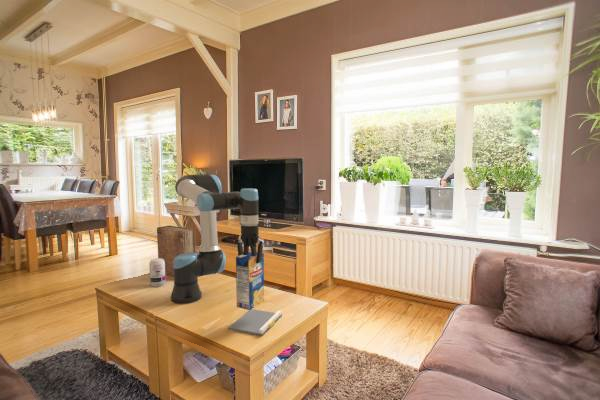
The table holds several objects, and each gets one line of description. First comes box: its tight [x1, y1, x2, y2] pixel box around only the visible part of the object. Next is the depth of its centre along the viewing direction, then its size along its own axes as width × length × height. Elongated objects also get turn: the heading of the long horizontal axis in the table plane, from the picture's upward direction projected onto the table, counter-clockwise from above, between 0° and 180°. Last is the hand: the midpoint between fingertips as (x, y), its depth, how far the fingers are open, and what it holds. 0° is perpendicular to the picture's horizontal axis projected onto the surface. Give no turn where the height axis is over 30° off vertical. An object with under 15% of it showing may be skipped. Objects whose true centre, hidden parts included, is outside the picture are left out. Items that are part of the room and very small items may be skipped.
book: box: [156, 225, 197, 278], centre depth 214 cm, size 25×9×30 cm, turn 58°
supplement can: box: [148, 257, 166, 288], centre depth 195 cm, size 8×8×15 cm
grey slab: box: [227, 308, 283, 337], centre depth 148 cm, size 16×20×2 cm
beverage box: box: [235, 251, 265, 311], centre depth 146 cm, size 7×11×22 cm, turn 152°
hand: (250, 277), depth 146 cm, fingers closed on beverage box, 2 cm apart
